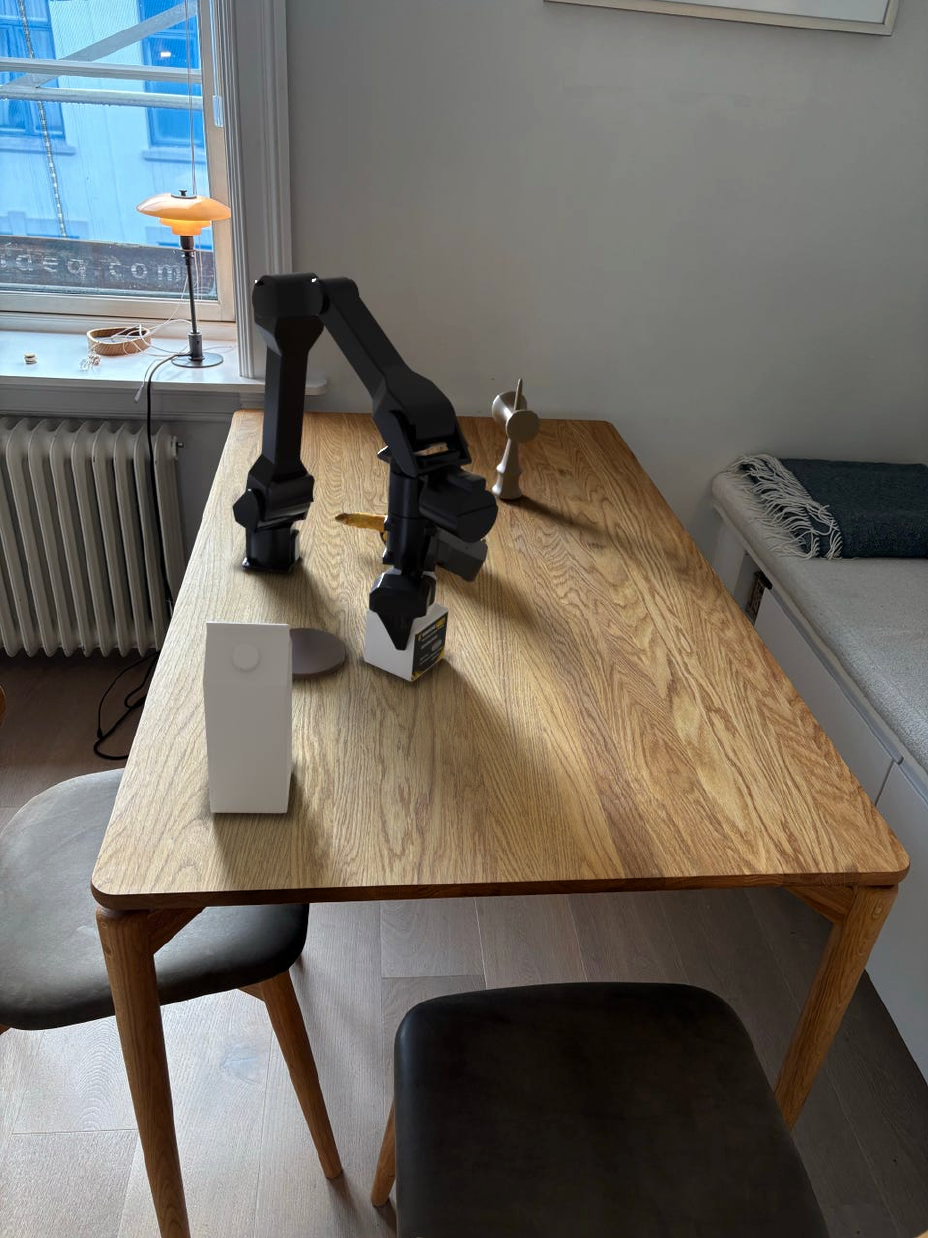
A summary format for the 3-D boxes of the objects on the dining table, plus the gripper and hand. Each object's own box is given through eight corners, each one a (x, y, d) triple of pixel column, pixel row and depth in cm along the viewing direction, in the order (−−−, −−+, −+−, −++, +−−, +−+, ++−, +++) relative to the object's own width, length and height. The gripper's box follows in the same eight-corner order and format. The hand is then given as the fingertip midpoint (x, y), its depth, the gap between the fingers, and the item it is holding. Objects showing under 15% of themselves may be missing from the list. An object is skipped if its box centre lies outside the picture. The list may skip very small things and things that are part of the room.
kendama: (516, 483, 164) (531, 369, 154) (531, 507, 156) (547, 388, 146) (482, 483, 163) (495, 368, 153) (495, 507, 155) (510, 387, 145)
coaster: (249, 673, 109) (249, 667, 109) (273, 628, 118) (273, 622, 117) (335, 684, 109) (335, 678, 108) (352, 638, 117) (353, 633, 117)
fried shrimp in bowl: (470, 546, 132) (348, 499, 127) (441, 589, 140) (325, 547, 136) (478, 498, 137) (361, 452, 133) (449, 543, 146) (338, 501, 141)
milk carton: (220, 764, 95) (212, 601, 85) (292, 765, 96) (292, 604, 86) (210, 814, 89) (200, 644, 79) (287, 814, 90) (286, 646, 80)
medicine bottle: (412, 683, 110) (419, 594, 104) (362, 661, 113) (366, 573, 107) (444, 657, 116) (453, 571, 110) (396, 637, 119) (402, 551, 112)
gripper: (478, 553, 96) (466, 681, 104) (493, 484, 112) (481, 599, 120) (369, 541, 96) (366, 669, 104) (399, 473, 113) (394, 589, 120)
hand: (407, 629), depth 112 cm, fingers closed on medicine bottle, 9 cm apart
